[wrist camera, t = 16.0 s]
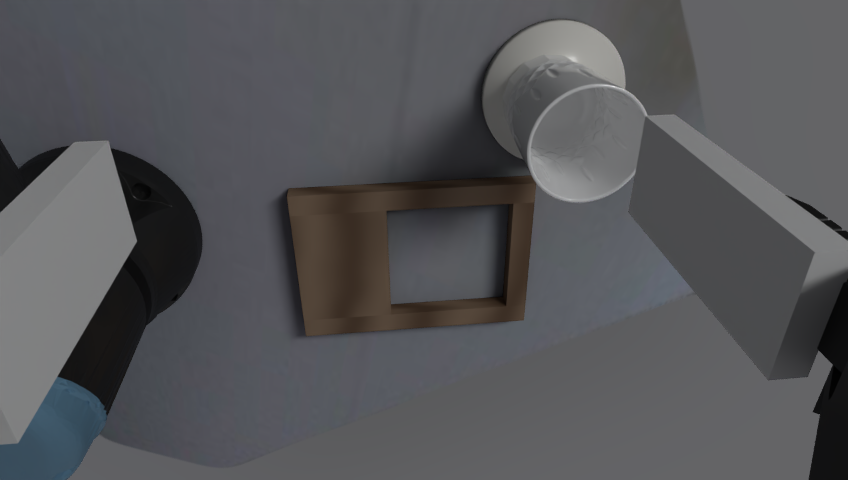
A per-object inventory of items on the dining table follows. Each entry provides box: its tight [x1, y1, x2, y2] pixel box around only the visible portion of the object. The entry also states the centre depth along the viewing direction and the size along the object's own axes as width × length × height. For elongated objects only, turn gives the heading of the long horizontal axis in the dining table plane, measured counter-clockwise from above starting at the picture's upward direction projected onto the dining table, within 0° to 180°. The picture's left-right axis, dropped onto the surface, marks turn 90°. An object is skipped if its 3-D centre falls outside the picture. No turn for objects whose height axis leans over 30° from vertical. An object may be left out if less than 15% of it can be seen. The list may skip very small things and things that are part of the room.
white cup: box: [502, 55, 647, 203], centre depth 43 cm, size 8×8×10 cm
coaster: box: [481, 19, 625, 159], centre depth 47 cm, size 11×11×1 cm
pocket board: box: [287, 176, 536, 336], centre depth 53 cm, size 20×14×2 cm
